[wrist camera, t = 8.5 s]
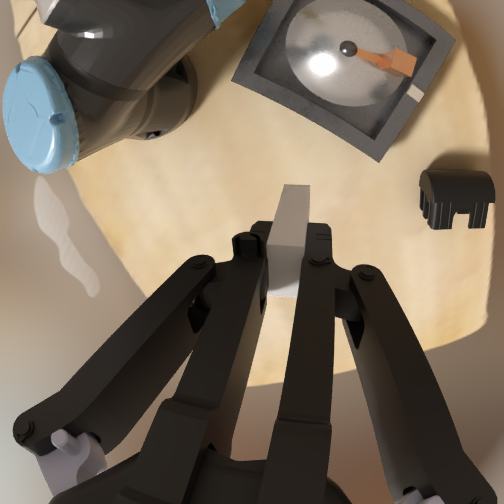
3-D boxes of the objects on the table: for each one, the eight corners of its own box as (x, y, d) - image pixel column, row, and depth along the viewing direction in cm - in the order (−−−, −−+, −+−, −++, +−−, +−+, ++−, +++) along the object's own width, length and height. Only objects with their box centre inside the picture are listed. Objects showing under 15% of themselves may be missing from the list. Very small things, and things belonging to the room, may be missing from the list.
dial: (275, 85, 31) (263, 86, 24) (302, -12, 23) (296, -35, 16) (384, 121, 31) (401, 133, 24) (413, 26, 22) (437, 15, 16)
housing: (239, 80, 33) (229, 80, 30) (306, -37, 22) (304, -50, 18) (373, 154, 35) (379, 163, 31) (443, 42, 23) (457, 39, 20)
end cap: (476, 164, 31) (498, 180, 25) (472, 208, 34) (490, 230, 29) (417, 162, 34) (433, 179, 28) (416, 209, 37) (429, 232, 32)
